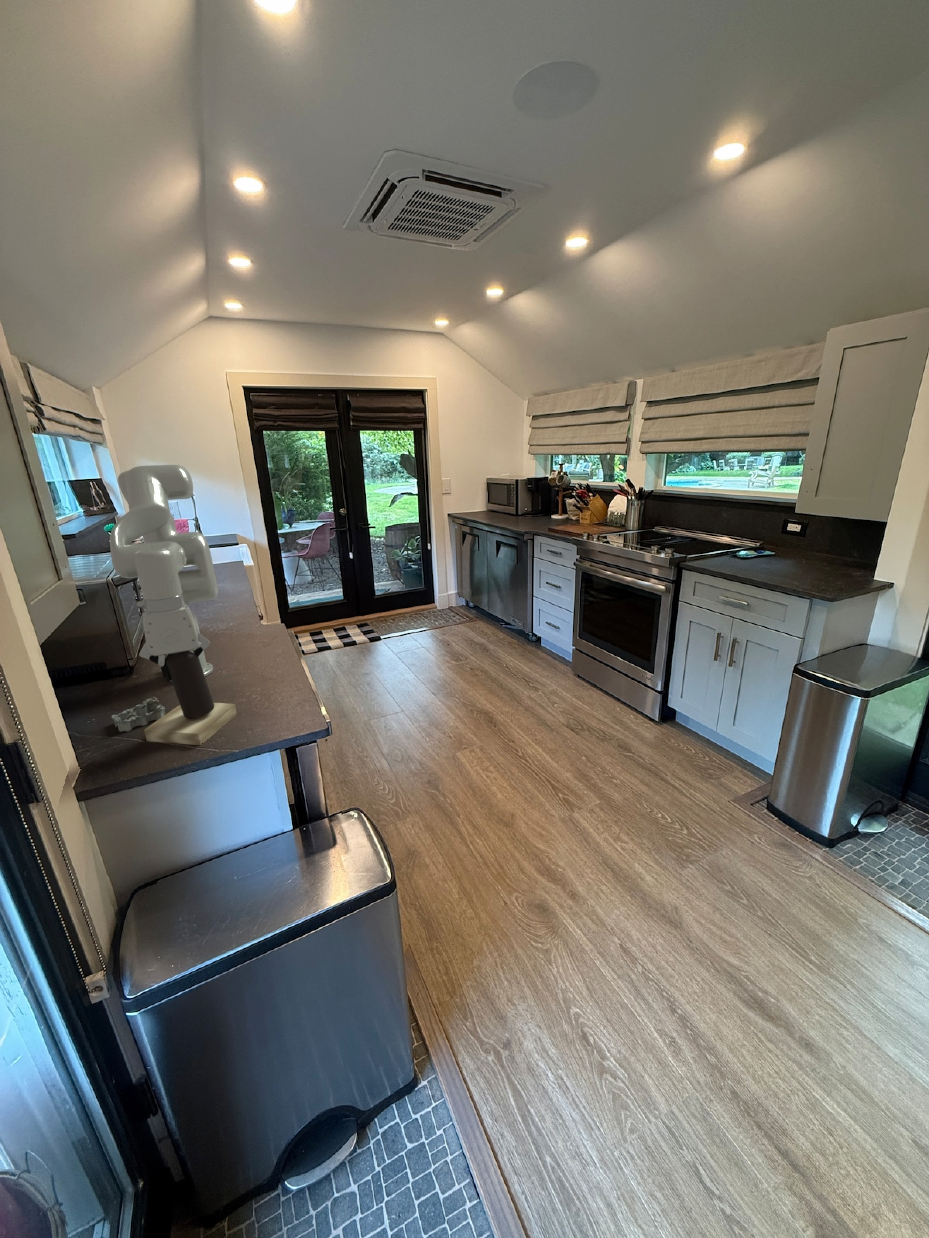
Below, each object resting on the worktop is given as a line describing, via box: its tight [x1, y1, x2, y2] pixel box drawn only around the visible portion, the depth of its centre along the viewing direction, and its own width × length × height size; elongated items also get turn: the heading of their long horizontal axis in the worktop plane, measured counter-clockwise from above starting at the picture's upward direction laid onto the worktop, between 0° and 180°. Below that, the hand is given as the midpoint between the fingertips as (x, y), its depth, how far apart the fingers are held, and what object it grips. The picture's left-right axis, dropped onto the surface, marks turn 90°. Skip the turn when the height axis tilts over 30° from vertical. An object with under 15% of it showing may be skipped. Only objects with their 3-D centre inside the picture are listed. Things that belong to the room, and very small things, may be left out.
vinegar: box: [165, 650, 215, 719], centre depth 116 cm, size 7×7×20 cm
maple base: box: [143, 702, 238, 746], centre depth 119 cm, size 14×14×3 cm
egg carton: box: [111, 696, 167, 733], centre depth 123 cm, size 11×8×4 cm
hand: (182, 676), depth 116 cm, fingers closed on vinegar, 4 cm apart
